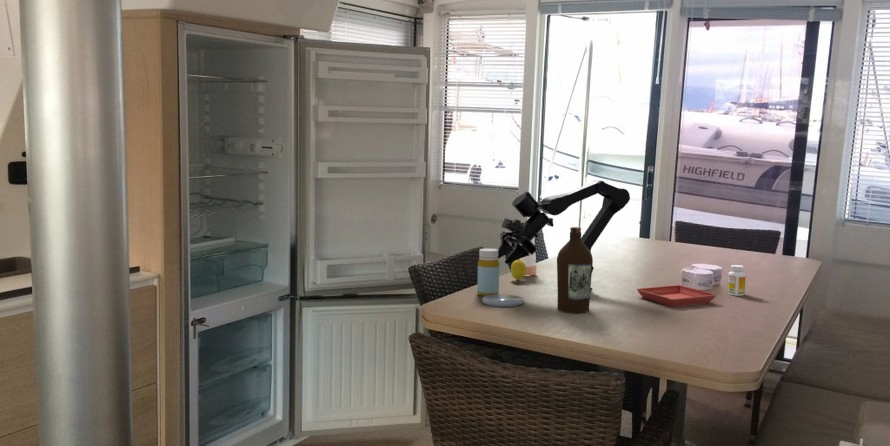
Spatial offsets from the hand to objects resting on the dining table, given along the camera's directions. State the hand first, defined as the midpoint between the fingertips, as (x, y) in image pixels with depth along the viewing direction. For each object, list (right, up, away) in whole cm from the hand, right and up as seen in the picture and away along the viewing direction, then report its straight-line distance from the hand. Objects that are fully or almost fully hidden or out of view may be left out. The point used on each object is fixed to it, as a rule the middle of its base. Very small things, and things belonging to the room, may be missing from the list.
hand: (500, 260), depth 249 cm
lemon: (+8, -9, +25) cm, 27 cm away
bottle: (-4, -11, 0) cm, 12 cm away
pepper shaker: (+13, -7, +37) cm, 40 cm away
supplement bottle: (+79, -12, +5) cm, 80 cm away
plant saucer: (+56, -13, -5) cm, 58 cm away
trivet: (0, -12, -11) cm, 17 cm away
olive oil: (+20, -14, -21) cm, 32 cm away
